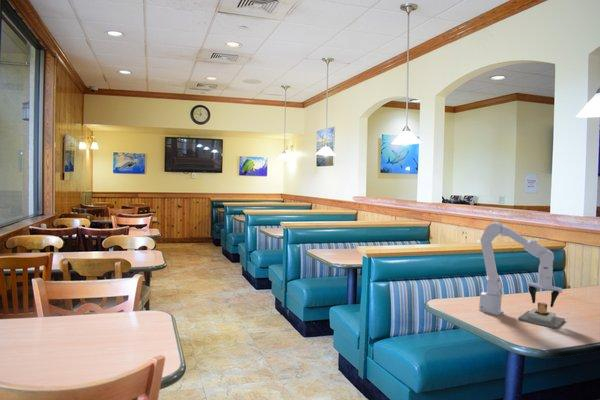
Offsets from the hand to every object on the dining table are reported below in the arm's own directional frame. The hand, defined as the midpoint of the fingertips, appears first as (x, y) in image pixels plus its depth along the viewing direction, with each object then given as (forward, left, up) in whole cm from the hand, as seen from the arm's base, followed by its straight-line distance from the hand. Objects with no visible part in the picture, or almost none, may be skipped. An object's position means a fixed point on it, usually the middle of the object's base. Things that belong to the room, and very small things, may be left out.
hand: (542, 304), depth 213 cm
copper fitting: (0, 0, -6) cm, 6 cm away
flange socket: (0, 0, -7) cm, 7 cm away
